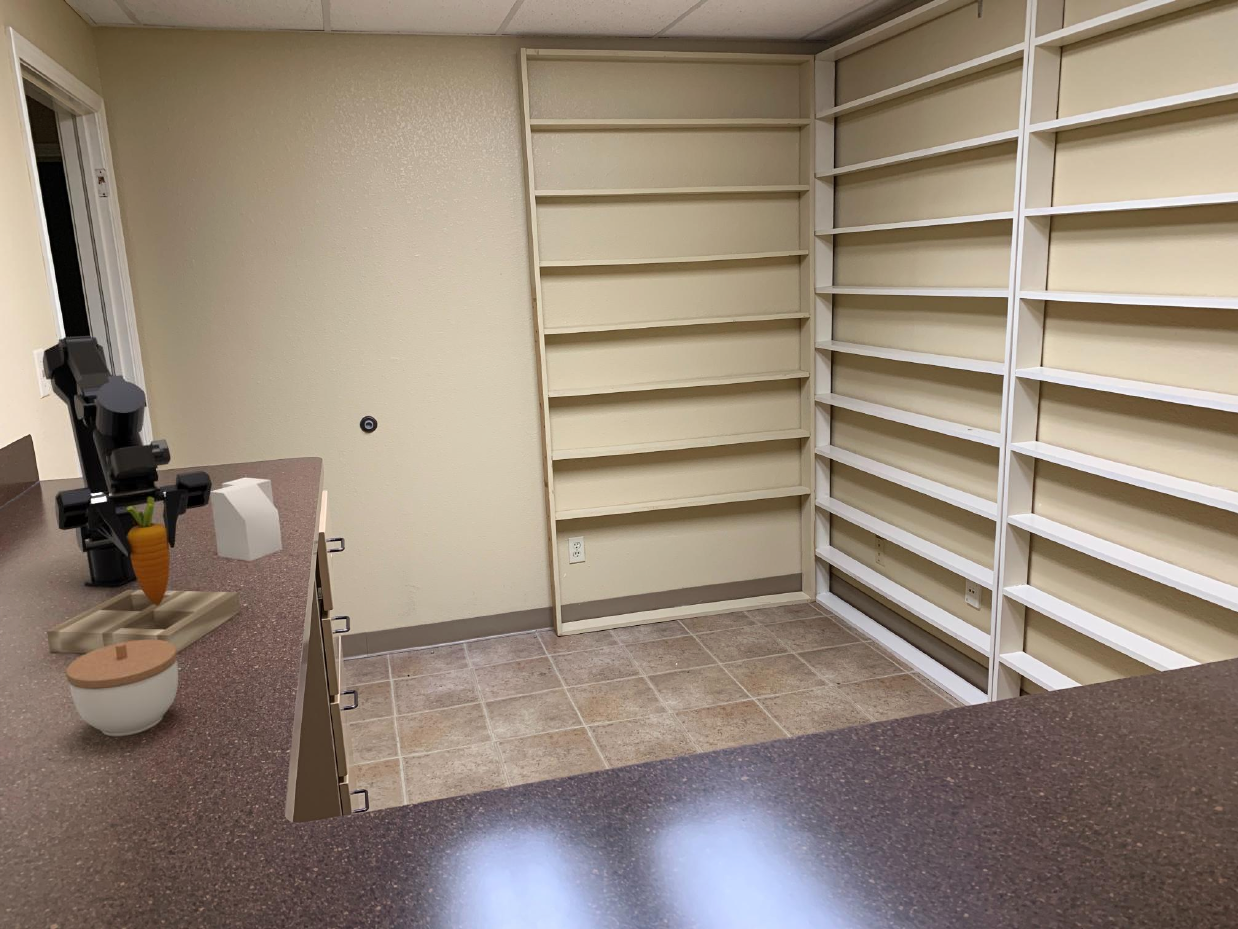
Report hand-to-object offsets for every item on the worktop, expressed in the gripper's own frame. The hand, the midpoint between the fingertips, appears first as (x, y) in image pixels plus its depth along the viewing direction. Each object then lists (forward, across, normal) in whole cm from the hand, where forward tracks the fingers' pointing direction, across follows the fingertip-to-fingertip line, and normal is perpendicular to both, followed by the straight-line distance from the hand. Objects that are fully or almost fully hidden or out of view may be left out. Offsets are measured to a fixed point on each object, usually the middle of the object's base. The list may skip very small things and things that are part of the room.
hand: (151, 550), depth 119 cm
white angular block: (-16, +22, +36) cm, 45 cm away
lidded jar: (+25, -8, -7) cm, 27 cm away
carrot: (+5, 0, +7) cm, 8 cm away
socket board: (+5, -1, +14) cm, 15 cm away
